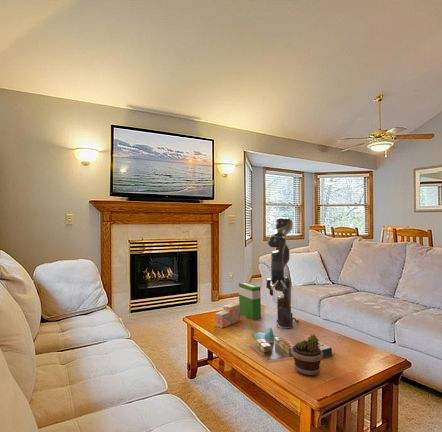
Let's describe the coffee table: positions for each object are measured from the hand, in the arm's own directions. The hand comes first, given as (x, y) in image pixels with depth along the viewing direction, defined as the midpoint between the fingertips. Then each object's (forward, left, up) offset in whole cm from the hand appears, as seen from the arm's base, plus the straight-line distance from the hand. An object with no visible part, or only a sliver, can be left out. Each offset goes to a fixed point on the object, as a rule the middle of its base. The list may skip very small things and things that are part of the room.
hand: (277, 294), depth 186 cm
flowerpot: (+6, +37, -28) cm, 47 cm away
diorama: (+6, -5, -28) cm, 30 cm away
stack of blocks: (+19, -37, -28) cm, 50 cm away
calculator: (-11, +19, -28) cm, 36 cm away
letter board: (+9, +13, -28) cm, 32 cm away
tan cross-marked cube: (+3, +18, -27) cm, 32 cm away
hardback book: (-3, -48, -28) cm, 56 cm away
